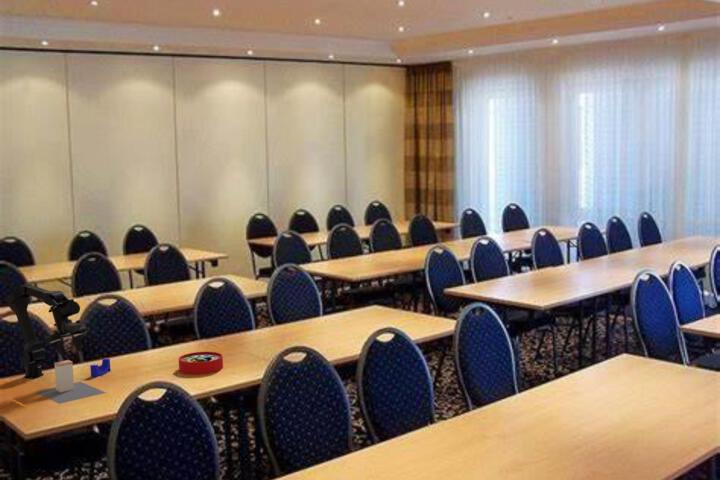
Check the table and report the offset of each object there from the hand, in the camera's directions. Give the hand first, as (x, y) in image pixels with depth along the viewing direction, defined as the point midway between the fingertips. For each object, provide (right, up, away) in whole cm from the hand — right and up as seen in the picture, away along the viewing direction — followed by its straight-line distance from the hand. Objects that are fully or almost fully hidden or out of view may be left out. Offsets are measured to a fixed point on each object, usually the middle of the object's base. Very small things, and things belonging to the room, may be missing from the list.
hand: (71, 353), depth 355 cm
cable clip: (+7, -12, +15) cm, 20 cm away
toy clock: (+52, -10, +21) cm, 57 cm away
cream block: (+1, -14, -10) cm, 17 cm away
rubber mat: (+4, -15, -14) cm, 21 cm away
